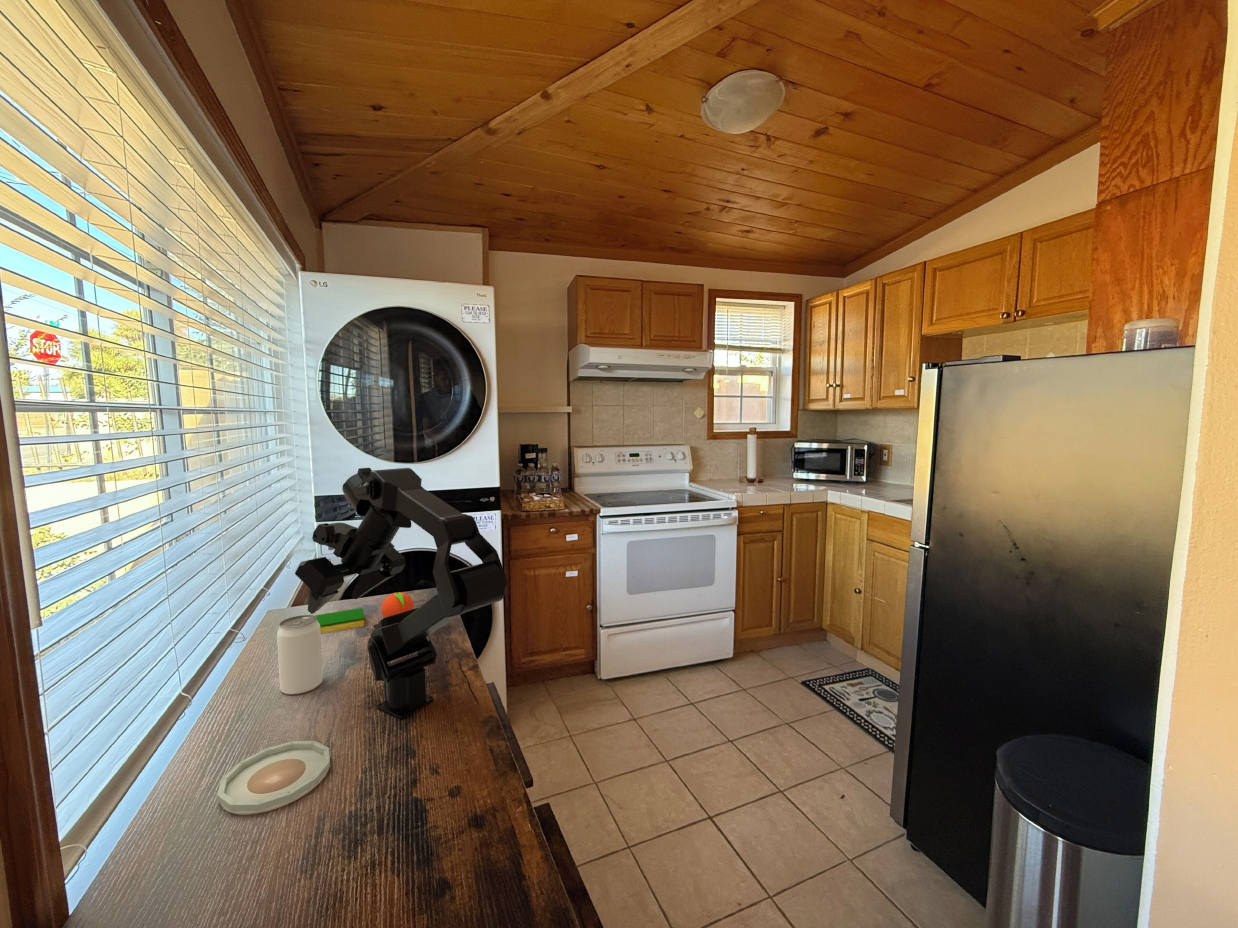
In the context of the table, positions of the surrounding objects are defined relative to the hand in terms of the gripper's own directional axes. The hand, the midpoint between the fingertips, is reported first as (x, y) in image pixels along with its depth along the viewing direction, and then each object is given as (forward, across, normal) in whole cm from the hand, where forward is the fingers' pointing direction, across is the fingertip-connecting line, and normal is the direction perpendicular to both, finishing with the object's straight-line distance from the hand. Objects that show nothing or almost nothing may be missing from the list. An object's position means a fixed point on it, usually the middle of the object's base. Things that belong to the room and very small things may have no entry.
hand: (333, 604), depth 88 cm
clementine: (+16, -28, -1) cm, 32 cm away
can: (+16, 0, +3) cm, 17 cm away
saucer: (+8, +19, +18) cm, 28 cm away
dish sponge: (+25, -22, -12) cm, 35 cm away
